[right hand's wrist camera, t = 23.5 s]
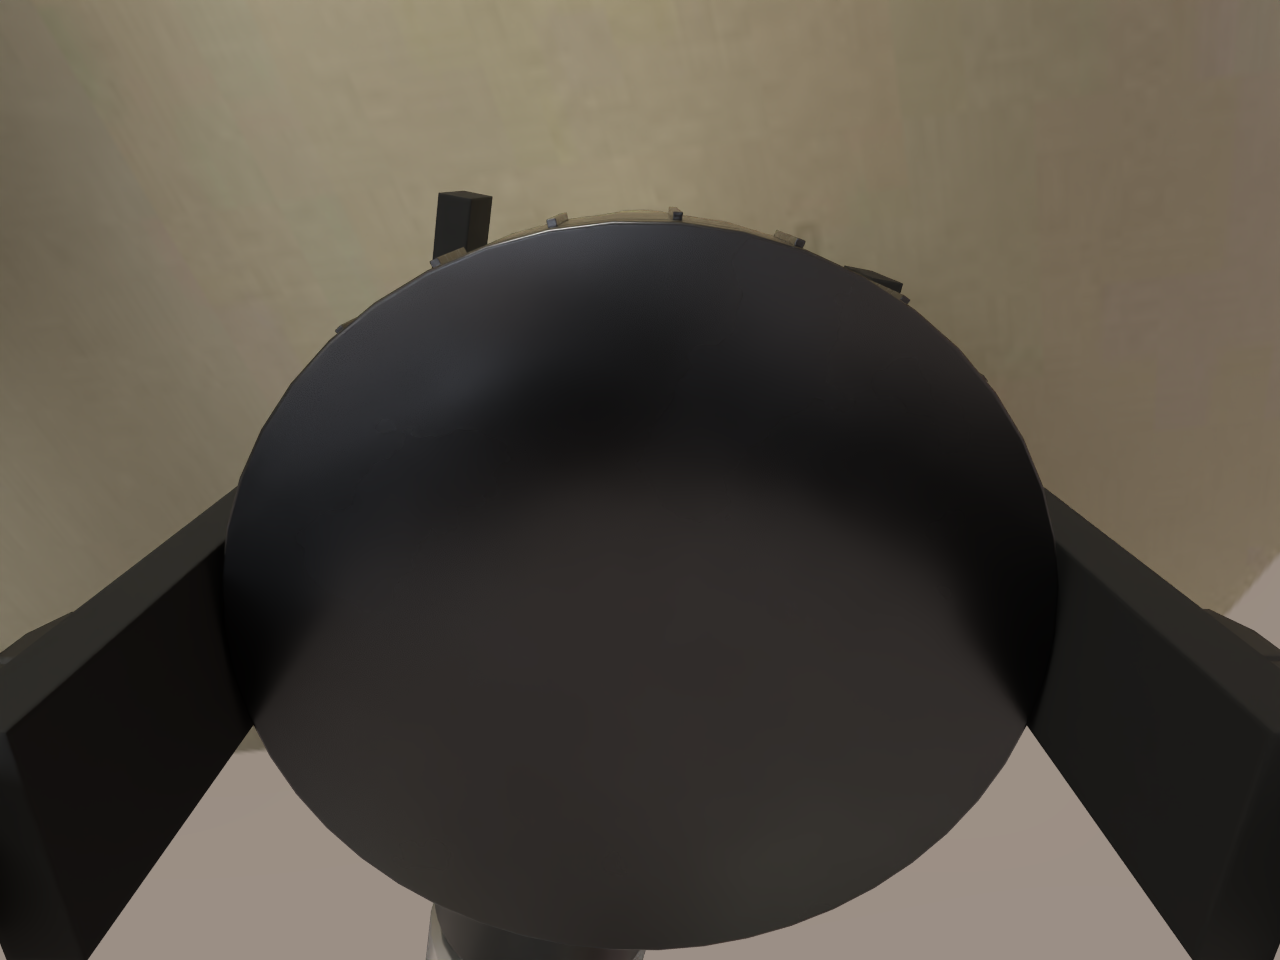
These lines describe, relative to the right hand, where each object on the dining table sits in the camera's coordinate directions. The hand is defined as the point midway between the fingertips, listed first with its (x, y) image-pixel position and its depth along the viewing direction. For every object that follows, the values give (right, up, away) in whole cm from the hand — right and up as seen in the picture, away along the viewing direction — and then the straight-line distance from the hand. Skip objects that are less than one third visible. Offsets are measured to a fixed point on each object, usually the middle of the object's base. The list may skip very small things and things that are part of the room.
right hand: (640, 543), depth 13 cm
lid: (0, -1, -3) cm, 3 cm away
